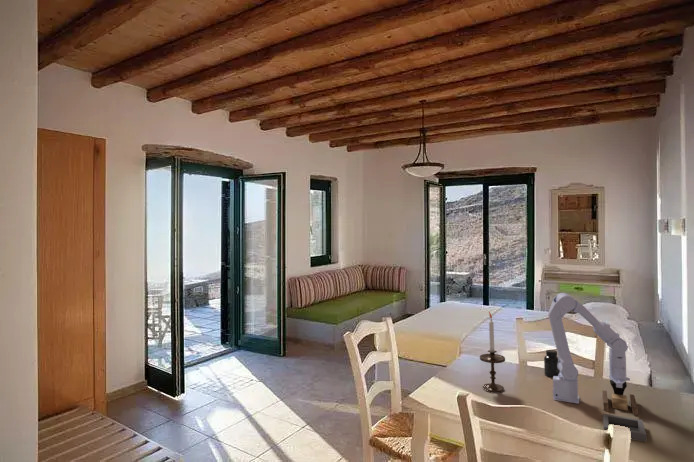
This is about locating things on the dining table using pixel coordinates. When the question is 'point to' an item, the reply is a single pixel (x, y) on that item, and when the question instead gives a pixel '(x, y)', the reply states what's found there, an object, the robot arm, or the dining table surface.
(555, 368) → the supplement bottle
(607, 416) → the trap pit
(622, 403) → the oak block
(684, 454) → the dining table surface
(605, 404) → the walnut channel
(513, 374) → the dining table surface
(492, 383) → the candlestick
